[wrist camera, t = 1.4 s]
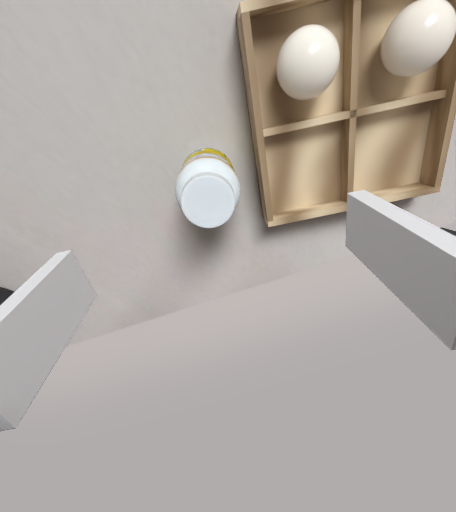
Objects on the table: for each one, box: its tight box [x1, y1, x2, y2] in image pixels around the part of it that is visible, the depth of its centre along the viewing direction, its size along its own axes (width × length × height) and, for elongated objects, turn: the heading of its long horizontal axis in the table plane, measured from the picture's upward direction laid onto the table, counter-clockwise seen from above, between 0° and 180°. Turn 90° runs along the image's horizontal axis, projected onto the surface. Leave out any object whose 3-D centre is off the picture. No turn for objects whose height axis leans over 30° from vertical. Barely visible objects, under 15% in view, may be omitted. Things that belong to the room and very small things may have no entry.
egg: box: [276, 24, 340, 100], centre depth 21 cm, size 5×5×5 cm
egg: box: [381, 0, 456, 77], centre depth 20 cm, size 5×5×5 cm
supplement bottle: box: [175, 148, 240, 228], centre depth 23 cm, size 5×5×10 cm
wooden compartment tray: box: [236, 0, 456, 227], centre depth 24 cm, size 18×18×3 cm
